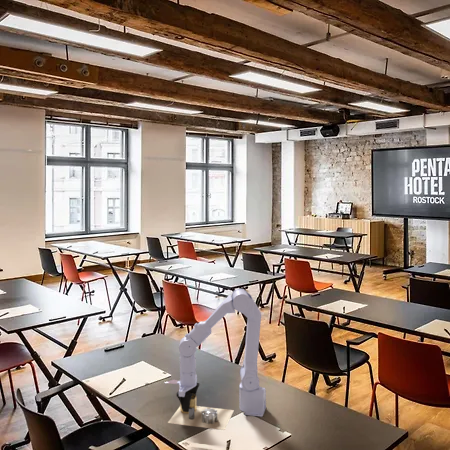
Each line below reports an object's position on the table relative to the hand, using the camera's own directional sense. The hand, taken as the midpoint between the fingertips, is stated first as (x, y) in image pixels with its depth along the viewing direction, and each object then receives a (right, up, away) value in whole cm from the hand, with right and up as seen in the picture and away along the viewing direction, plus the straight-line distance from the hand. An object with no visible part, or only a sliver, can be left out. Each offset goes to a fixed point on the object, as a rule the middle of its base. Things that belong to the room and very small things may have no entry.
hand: (188, 407), depth 172 cm
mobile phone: (-6, -1, +21) cm, 22 cm away
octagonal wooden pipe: (0, -1, 0) cm, 1 cm away
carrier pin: (+2, -2, -6) cm, 7 cm away
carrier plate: (+5, -2, -5) cm, 7 cm away
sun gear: (+8, -3, -7) cm, 11 cm away
